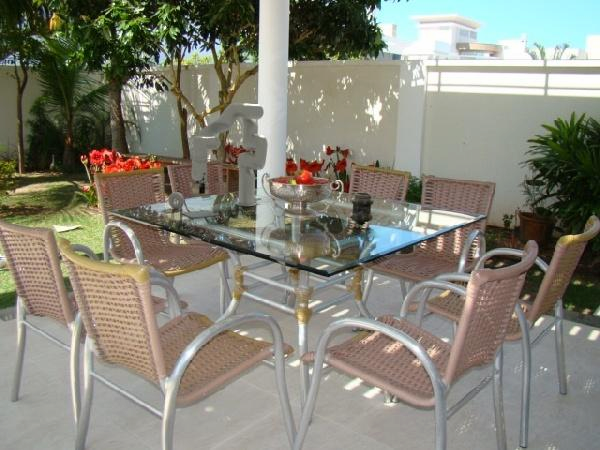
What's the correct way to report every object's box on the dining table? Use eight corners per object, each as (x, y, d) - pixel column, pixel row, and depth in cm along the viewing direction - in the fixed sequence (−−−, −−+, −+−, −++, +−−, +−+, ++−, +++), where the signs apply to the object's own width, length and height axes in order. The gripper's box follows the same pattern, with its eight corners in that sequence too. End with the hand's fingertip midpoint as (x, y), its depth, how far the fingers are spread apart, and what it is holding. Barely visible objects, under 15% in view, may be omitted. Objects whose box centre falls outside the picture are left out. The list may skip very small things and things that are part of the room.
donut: (185, 209, 319) (185, 192, 316) (182, 210, 316) (181, 193, 313) (170, 207, 322) (170, 190, 320) (167, 208, 319) (167, 191, 317)
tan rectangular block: (190, 193, 303) (190, 183, 302) (205, 192, 309) (205, 182, 308) (194, 195, 300) (194, 184, 299) (208, 194, 306) (209, 183, 304)
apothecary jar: (374, 225, 299) (376, 192, 295) (369, 230, 288) (371, 196, 284) (352, 223, 303) (354, 190, 299) (346, 227, 292) (348, 194, 288)
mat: (206, 210, 318) (206, 209, 318) (219, 215, 307) (219, 214, 307) (181, 213, 308) (181, 212, 308) (192, 219, 297) (192, 217, 297)
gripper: (186, 157, 304) (186, 190, 309) (201, 161, 291) (201, 196, 296) (198, 157, 309) (198, 189, 313) (213, 161, 296) (213, 194, 300)
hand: (199, 192), depth 304 cm, fingers closed on tan rectangular block, 4 cm apart
